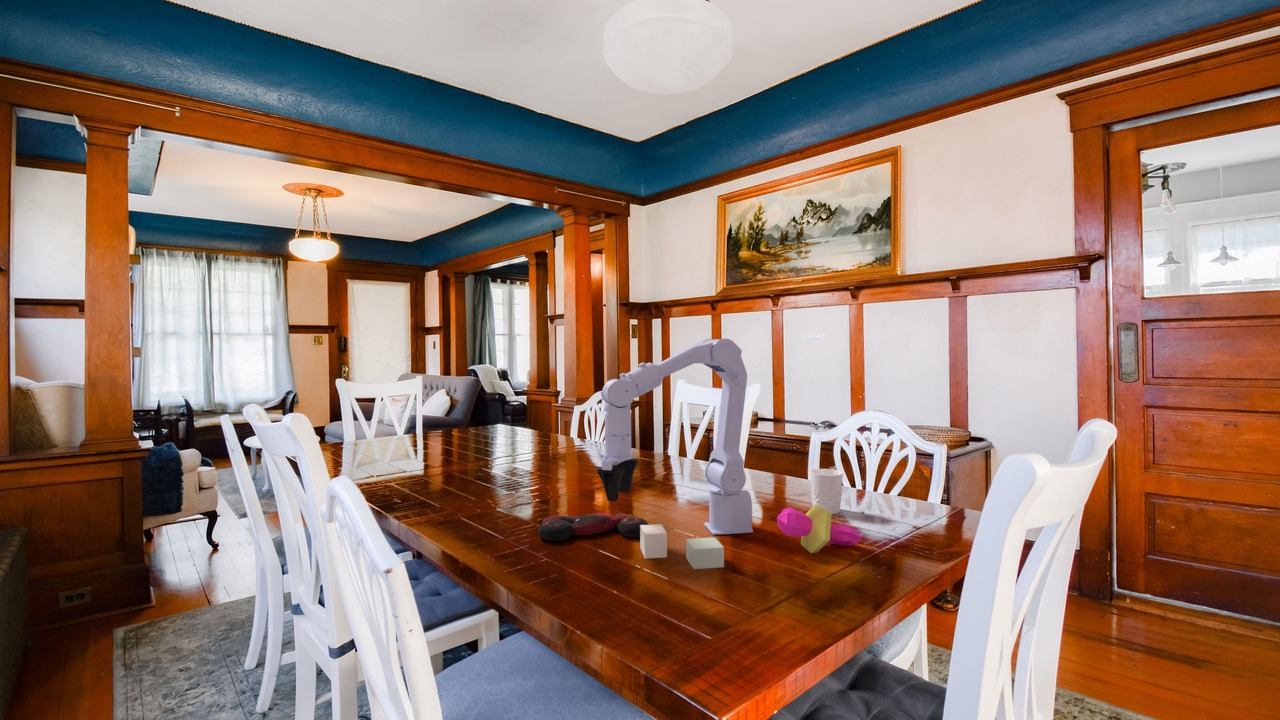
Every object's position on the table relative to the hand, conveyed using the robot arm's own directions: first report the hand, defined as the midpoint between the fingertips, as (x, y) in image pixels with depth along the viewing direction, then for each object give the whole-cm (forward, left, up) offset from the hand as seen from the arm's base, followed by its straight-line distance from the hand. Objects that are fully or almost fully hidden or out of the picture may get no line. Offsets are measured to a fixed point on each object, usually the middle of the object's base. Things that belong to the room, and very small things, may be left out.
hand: (618, 496), depth 127 cm
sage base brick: (-15, +15, -10) cm, 24 cm away
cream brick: (-6, +8, -10) cm, 14 cm away
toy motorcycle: (+5, -8, -10) cm, 14 cm away
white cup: (-55, -14, -10) cm, 58 cm away
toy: (-40, +12, -10) cm, 43 cm away
